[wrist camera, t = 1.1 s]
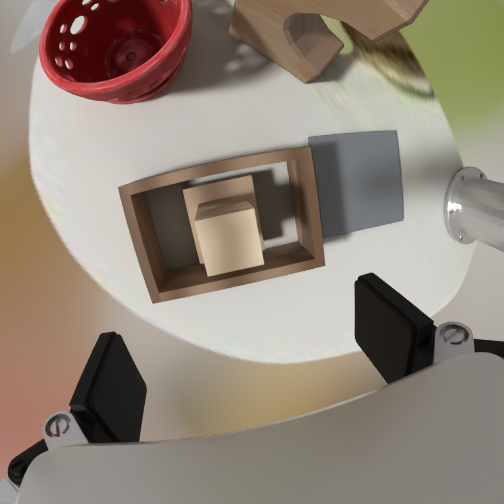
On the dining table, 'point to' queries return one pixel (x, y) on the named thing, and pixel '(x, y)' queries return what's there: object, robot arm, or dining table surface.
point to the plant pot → (116, 47)
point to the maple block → (228, 235)
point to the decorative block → (314, 28)
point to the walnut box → (195, 276)
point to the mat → (357, 180)
